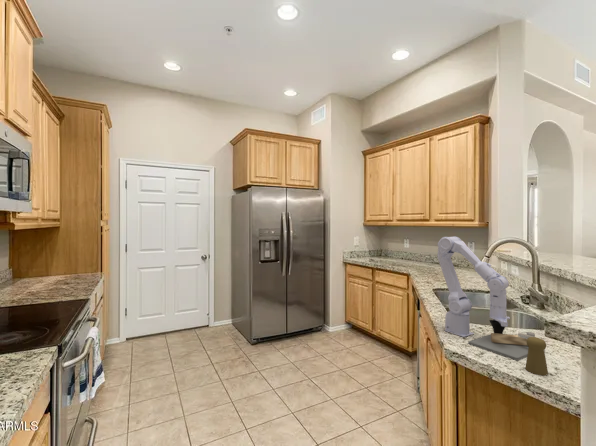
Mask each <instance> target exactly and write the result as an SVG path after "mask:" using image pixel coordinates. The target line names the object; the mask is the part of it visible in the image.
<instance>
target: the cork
mask: <svg viewBox="0 0 596 446" xmlns="http://www.w3.org/2000/svg"><path fill="white" fill-rule="evenodd" d="M536 337H537V336H535V337H529V338H528V339H527V345H528V346H529V348H528V355H527V357H526V362H525V370H526V371H527V372H528V373H530V374H533V375H537V376H549V371H548V365H547V358H546V353H545V349H546V348H547V343H546V341H545V340H544V339H542V338H540V337H537V338H536Z"/></svg>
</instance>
